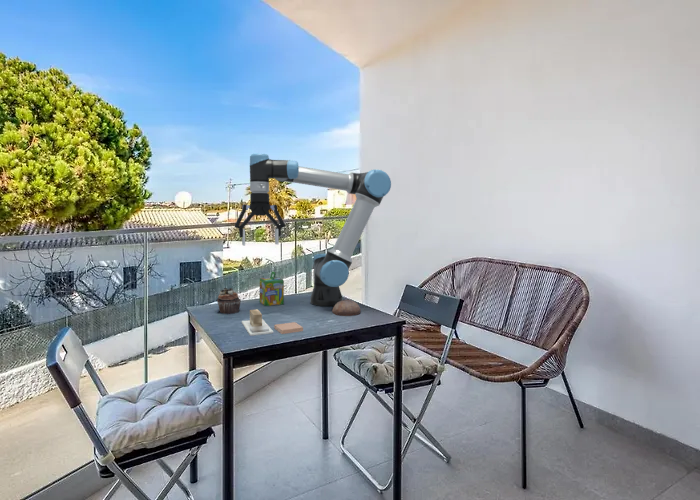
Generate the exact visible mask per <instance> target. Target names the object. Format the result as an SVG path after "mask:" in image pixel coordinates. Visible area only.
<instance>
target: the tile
mask: <svg viewBox="0 0 700 500" xmlns="http://www.w3.org/2000/svg"><path fill="white" fill-rule="evenodd" d="M274 329H275V331H277V332H278V333H280V334H281V335H284V334H291V333H298V332H303V331H304V327H303V326H302V325H300V324H298V323H297V322H296V321H293V322H286V323H278V324H274Z"/></svg>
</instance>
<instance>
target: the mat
mask: <svg viewBox="0 0 700 500" xmlns="http://www.w3.org/2000/svg"><path fill="white" fill-rule="evenodd" d="M241 324H242V325H243V327H244V328H245V330H246V331H247V333H248V335H249V336H251V337H253V336H261V335H271V334H274V330H273V329H272V328H271V327H270V325H269V324H267V323H266V321H265V319H263V318H262V326H264V325H266V326H267V327H268V328H269V331H267V332H258V333H252V332H251V331H250V327H252V325H251V324H250V319H249V320H241Z"/></svg>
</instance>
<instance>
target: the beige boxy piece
mask: <svg viewBox="0 0 700 500" xmlns="http://www.w3.org/2000/svg"><path fill="white" fill-rule="evenodd" d="M262 319H263V314H262V313H261V311H260V310H259V309H257V308H256V309H249V320H250V324H251V325H252V327H250V331H251V332H252V333H258V332H267V331H269V328H268V327H267V326H266V325H264V326H262Z"/></svg>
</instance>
